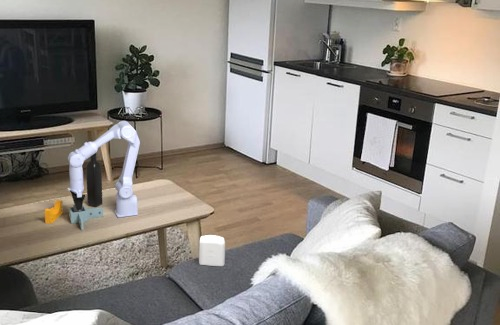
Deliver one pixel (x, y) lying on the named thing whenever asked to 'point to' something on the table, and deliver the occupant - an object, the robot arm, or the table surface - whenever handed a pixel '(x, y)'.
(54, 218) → the pipe clamp
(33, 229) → the table surface
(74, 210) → the pin
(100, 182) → the wine bottle
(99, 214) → the square tube bracket
